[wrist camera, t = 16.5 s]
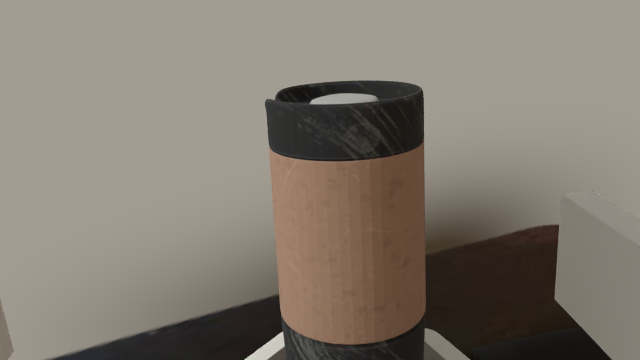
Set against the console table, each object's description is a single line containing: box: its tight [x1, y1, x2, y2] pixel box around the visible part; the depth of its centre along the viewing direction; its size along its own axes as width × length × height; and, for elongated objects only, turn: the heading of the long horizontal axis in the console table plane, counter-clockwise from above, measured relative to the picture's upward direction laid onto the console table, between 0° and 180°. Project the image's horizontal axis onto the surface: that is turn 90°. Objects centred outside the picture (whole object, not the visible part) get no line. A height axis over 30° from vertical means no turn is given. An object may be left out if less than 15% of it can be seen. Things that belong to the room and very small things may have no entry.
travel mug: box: [265, 81, 426, 360], centre depth 30 cm, size 8×8×20 cm
